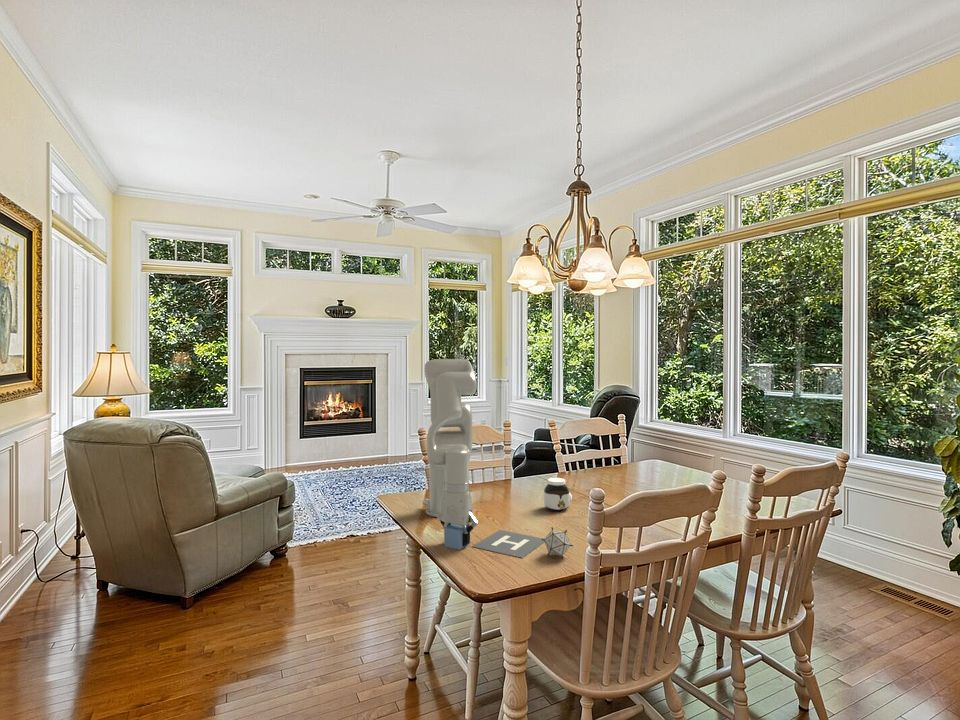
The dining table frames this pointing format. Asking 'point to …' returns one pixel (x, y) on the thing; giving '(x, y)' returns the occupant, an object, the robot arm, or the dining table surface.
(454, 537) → the slate cube
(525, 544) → the letter mat
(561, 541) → the game die
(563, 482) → the spread jar
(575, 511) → the dining table surface
